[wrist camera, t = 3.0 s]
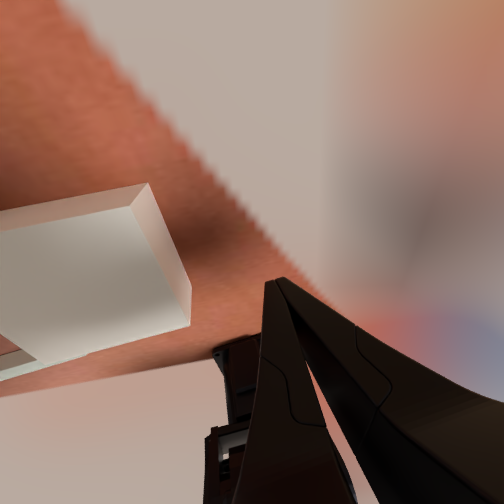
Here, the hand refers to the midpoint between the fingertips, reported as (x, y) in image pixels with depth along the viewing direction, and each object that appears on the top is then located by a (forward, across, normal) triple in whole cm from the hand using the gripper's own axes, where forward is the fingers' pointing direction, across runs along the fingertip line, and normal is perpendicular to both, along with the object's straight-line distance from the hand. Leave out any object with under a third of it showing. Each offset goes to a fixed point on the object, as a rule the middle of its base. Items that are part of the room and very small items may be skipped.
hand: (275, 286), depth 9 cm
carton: (+7, +9, 0) cm, 12 cm away
